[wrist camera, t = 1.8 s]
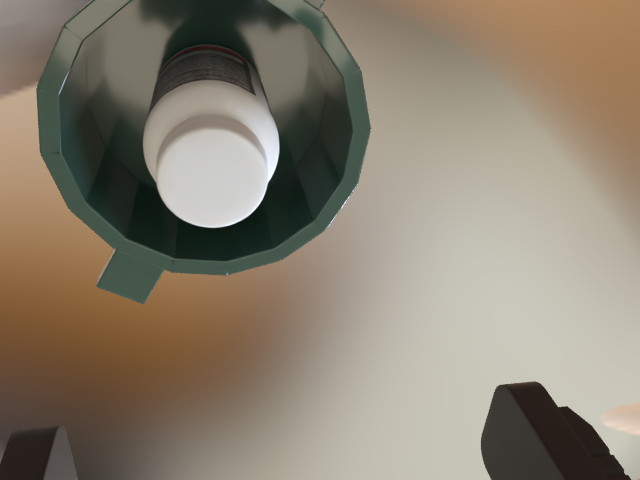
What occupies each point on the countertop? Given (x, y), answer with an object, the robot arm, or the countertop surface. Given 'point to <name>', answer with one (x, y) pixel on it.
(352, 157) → the pot
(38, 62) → the countertop surface
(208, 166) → the pill bottle
